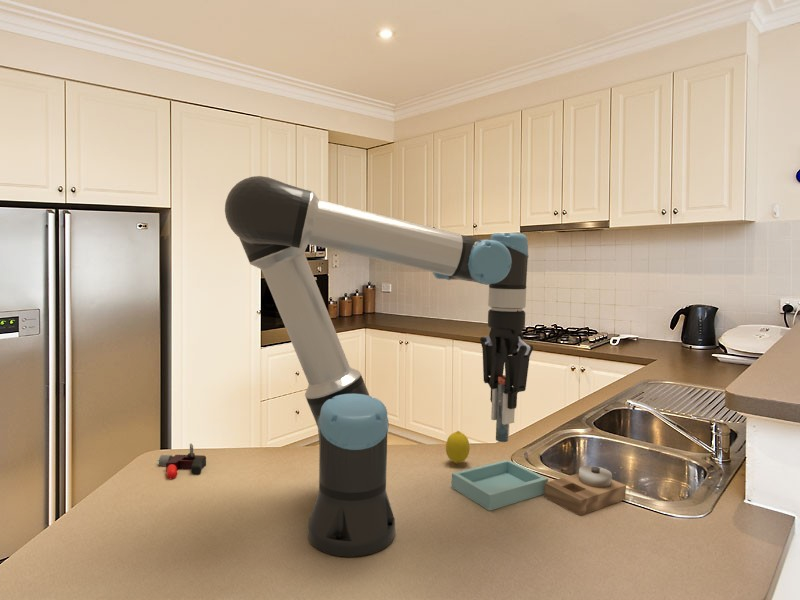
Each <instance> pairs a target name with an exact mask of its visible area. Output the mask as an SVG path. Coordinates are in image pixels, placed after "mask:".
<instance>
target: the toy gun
mask: <svg viewBox="0 0 800 600" xmlns="http://www.w3.org/2000/svg"><path fill="white" fill-rule="evenodd" d="M156 461H157V462H158V466H159V467H165V471H166V477H167V478H168V479H170V480H174V479H176V478H177V476H178V471H179V470H185V471H188V470H189V471H190V473H191V475H194V476H195V475H197V476H198V475H201V473H202V470H203V468H204V467H206V466H207V456H205V455H202V454H201V455H197V454H196V455H195V453H194V445H193V444H192V443H189V453H187V454H174V455H170V454H169V455H168V454H166V455H165V454H161V455H160V456H159V459H157V460H156Z"/></svg>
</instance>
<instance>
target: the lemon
mask: <svg viewBox="0 0 800 600" xmlns="http://www.w3.org/2000/svg"><path fill="white" fill-rule="evenodd" d="M445 453H446V456H447V458H449V460H451V462H454V463H455V465H459V464H460V463H462V462H465V460H466V459H467V458H468V457H469V454H470V441H469V439H468V437H467V435H465V433H463V432H460V430H456V431H455V432H452V433H451V434H450V435H449V436H448V437H447V439H446V444H445Z"/></svg>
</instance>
